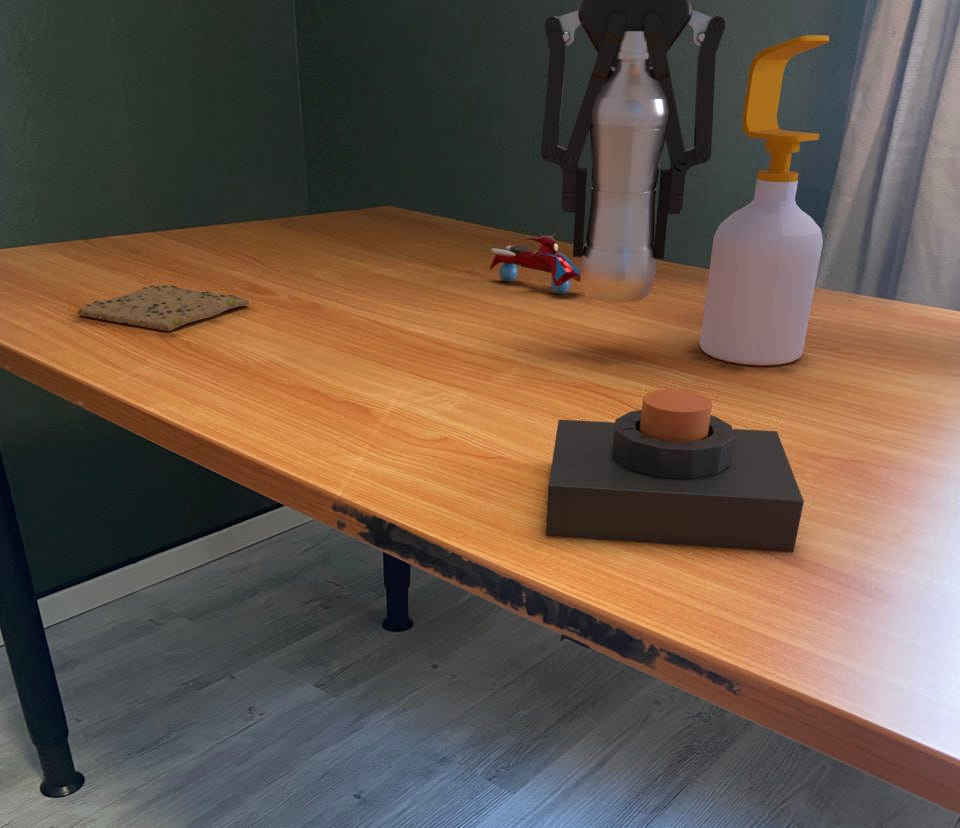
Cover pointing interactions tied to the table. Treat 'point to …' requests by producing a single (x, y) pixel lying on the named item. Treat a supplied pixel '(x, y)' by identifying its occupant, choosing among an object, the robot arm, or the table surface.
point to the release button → (675, 415)
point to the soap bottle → (765, 239)
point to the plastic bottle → (624, 177)
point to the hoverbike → (537, 262)
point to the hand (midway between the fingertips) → (618, 254)
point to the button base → (672, 487)
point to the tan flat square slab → (161, 307)
